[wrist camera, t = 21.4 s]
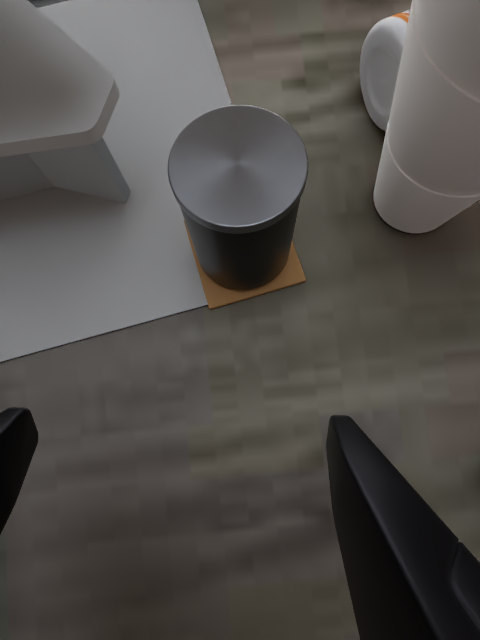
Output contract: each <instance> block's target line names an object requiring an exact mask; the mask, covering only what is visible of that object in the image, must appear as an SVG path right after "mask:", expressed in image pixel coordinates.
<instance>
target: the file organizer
mask: <svg viewBox="0 0 480 640" xmlns="http://www.w3.org/2000/svg"><path fill="white" fill-rule="evenodd" d="M230 105H232V103H231V100H230V97H229V94H228V91H227V88H226V85H225V82H224V79H223V76H222V73H221V70H220V67H219V64H218V61H217V58H216V55H215V52H214V49H213V46H212V43H211V40H210V37H209V34H208V31H207V28H206V24H205V21H204V18H203V15H202V12H201V9H200V6H199V3H198V0H69V1H65V2H61V3H57V4H53V5H49V6H45V7H41V8H36V7H35V6H34V5H32V4H31V3H30V2H29V1H28V0H0V362H1V361H5V360H9V359H12V358H16V357H20V356H23V355H27V354H30V353H34V352H38V351H41V350H45V349H49V348H52V347H56V346H59V345H63V344H67V343H70V342H74V341H78V340H81V339H85V338H88V337H92V336H96V335H99V334H103V333H107V332H110V331H114V330H117V329H121V328H125V327H128V326H132V325H136V324H139V323H143V322H146V321H150V320H154V319H157V318H161V317H165V316H168V315H172V314H175V313H179V312H183V311H186V310H190V309H194V308H197V307H201V306H204V305H208V303H207V300H206V296H205V293H204V289H203V286H202V282H201V279H200V275H199V272H198V268H197V265H196V261H195V258H194V255H193V251H192V248H191V244H190V241H189V237H188V234H187V230H186V227H185V223H184V217H183V214H182V211H181V208H180V205H179V204H178V203H177V201H176V199H175V197H174V194H173V192H172V189H171V186H170V183H169V178H168V158H169V154H170V151H171V148H172V146H173V144H174V141H175V140H176V138H177V137H178V135H179V134H180V132H181V131H182V130H183V129H184V128H185V127H186V126H187V125H188V124H189V123H190V122H191V121H193V120H194V119H195V118H197V117H198V116H200V115H202V114H204V113H206V112H208V111H210V110H213V109H216V108H220V107H224V106H230Z"/></svg>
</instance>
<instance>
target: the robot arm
mask: <svg viewBox="0 0 480 640" xmlns="http://www.w3.org/2000/svg"><path fill="white" fill-rule="evenodd" d="M37 443H38V431H37V428H36V425H35V423H34V420H33V417H32V414H31V412H30V410H29V409H28V408H17V407H12V408H8V409H6V410H5V411H3V412H1V413H0V534H1V532H2V530H3V528H4V526H5V524H6V522H7V520H8V518H9V516H10V514H11V512H12V509H13V507H14V505H15V503H16V500H17V498H18V495H19V492H20V490H21V487H22V484H23V481H24V479H25V476H26V473H27V471H28V468H29V465H30V462H31V460H32V457H33V454H34V451H35V449H36V446H37ZM326 450H327V461H328V470H329V480H330V490H331V500H332V509H333V516H334V522H335V527H336V532H337V536H338V541H339V545H340V550H341V554H342V559H343V563H344V568H345V573H346V577H347V582H348V586H349V591H350V595H351V600H352V604H353V609H354V613H355V618H356V623H357V627H358V632H359V636H360V640H480V562H479V561H478V560H477V559H476V558H475V557H474V556H473V555H472V554H471V552H470V551H469V550H468V549H467V548H466V547H465V546H464V545H463V543H461V542H459V543H458V538H457V537H456V536H455V535H454V534H453V532H452V531H451V530H450V529H449V528H448V527H447V526H446V525H445V523H444V522H443V521H442V520H441V519H440V518H439V517H438V515H437V514H436V513H435V512H434V511H433V510H432V509H431V508H430V506H429V505H428V504H427V503H426V502H425V501H424V500H423V499H422V497H421V496H420V495H419V494H418V493H417V492H416V491H415V490H414V488H413V487H412V486H411V485H410V484H409V483H408V482H407V481H406V479H405V478H404V477H403V476H402V475H401V474H400V473H399V471H398V470H397V469H396V468H395V467H394V466H393V465H392V464H391V462H390V461H389V460H388V459H387V458H386V457H385V456H384V455H383V453H382V452H381V451H380V450H379V449H378V448H377V447H376V446H375V444H374V443H373V442H372V441H371V440H370V439H369V438H368V437H367V435H366V434H365V433H364V432H363V431H362V430H361V429H360V427H359V426H358V425H357V424H356V423H355V422H354V421H353V420H352V418H351V417H349V416H341V415H333V416H331V417H330V421H329V427H328V435H327V443H326Z"/></svg>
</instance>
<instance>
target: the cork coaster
mask: <svg viewBox="0 0 480 640" xmlns="http://www.w3.org/2000/svg"><path fill="white" fill-rule="evenodd" d="M184 223H185V227H186V230H187V234H188V237H189V241H190V244H191V248H192V251H193V255H194V258H195V261H196V265H197V268H198V272H199V275H200V279H201V282H202V286H203V289H204V293H205V296H206V300H207V303H208V306H209V309H210V310H211V309H215V308H218V307H221V306H225V305H228V304H232V303H235V302H238V301H242V300H245V299H249V298H252V297H255V296H259V295H262V294H266V293H269V292H272V291H276V290H279V289H283V288H286V287H289V286H293V285H296V284H300V283H303V282H306V278H305V275H304V272H303V269H302V267H301V264H300V261H299V258H298V256H297V253H296V250H295V247H294V244H293V242H291V247H290V252H289V257H288V260H287V263H286V264H285V266H284V268H283V270H282V271H281V272H280V274H279V275H278V276H277V277H276V278H274V279H273V280H272V281H271V282H269V283H268V284H266V285H264V286H261V287H259V288H255V289H251V290H234V289H229V288H226V287H223V286H221V285H219V284H217V283H216V282H214V281H213V280H212V279H211V278H209V277H208V276H207V274H206V273H205V272H204V271H203V269H202V268H201V266H200V264H199V261H198V258H197V255H196V252H195V249H194V246H193V243H192V240H191V237H190V234H189V231H188V228H187V225H186V222H185V220H184Z"/></svg>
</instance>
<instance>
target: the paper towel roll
mask: <svg viewBox="0 0 480 640" xmlns="http://www.w3.org/2000/svg"><path fill="white" fill-rule="evenodd" d="M373 199H374V204H375V207H376V210H377V212H378V213H379V215H380V216H381V217H382V219H383V220H384V221H385V222H386V223H388V224H389V225H390V226H392V227H394V228H396V229H398V230H400V231H403V232H407V233H425V232H429V231H431V230H434V229H436V228H437V227H439V226H440V225H442V224H444V223H445V222H447V221H448V220H450V219H451V218H453V217H454V216H456V215H457V214H459V213H460V212H462V211H463V210H465V209H466V208H468V207H469V206H471V205H473V204H474V203H476V202H477V201H479V200H480V0H412V5H411V10H410V15H409V20H408V25H407V30H406V35H405V40H404V45H403V50H402V55H401V60H400V65H399V71H398V76H397V81H396V86H395V91H394V96H393V101H392V106H391V111H390V118H389V121H388V124H387V129H386V134H385V139H384V144H383V148H382V153H381V158H380V163H379V168H378V173H377V178H376V182H375V187H374V193H373Z"/></svg>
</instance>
